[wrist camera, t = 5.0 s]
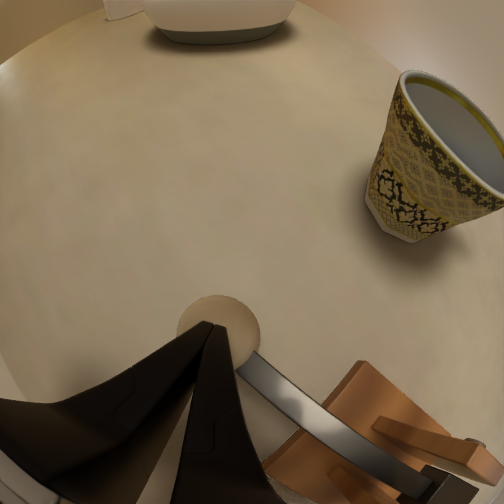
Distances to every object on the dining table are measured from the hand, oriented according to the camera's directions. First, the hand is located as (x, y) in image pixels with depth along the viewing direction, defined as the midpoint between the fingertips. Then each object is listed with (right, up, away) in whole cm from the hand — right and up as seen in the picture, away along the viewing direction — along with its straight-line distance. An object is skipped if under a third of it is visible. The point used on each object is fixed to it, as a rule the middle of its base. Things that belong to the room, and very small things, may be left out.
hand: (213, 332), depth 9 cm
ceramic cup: (+15, +6, +11) cm, 19 cm away
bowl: (-4, +37, +21) cm, 43 cm away
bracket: (+9, -11, +4) cm, 15 cm away
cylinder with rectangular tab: (-26, +55, +27) cm, 66 cm away
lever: (+5, -5, +1) cm, 7 cm away
